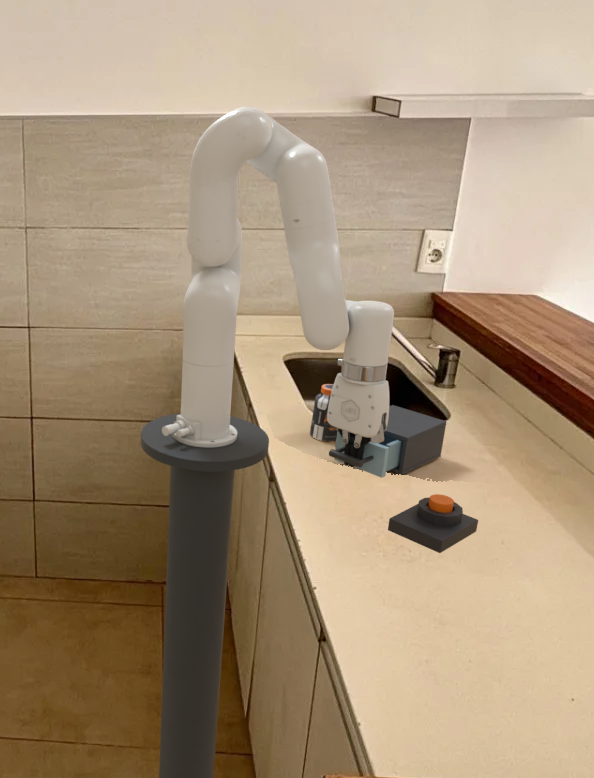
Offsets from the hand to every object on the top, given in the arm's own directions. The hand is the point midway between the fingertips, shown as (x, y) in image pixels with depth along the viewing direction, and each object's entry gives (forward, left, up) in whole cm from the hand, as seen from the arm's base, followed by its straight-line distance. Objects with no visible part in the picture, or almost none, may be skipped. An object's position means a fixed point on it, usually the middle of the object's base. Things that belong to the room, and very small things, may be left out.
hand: (352, 463), depth 143 cm
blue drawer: (+6, 0, -2) cm, 6 cm away
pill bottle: (+11, +15, -3) cm, 19 cm away
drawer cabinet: (+14, 0, -2) cm, 15 cm away
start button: (-6, -20, +1) cm, 21 cm away
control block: (-8, -20, -2) cm, 22 cm away
